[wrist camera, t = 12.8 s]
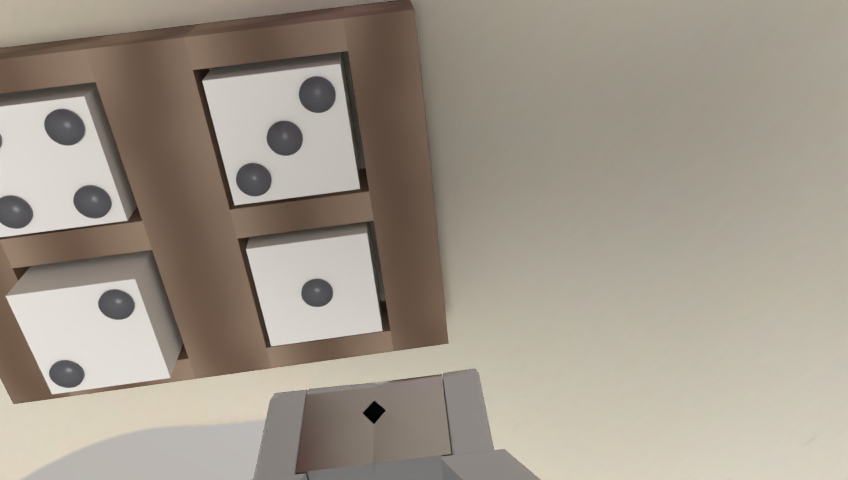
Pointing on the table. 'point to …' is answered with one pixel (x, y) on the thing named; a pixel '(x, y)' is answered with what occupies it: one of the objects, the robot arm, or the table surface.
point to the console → (210, 192)
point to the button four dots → (59, 162)
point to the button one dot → (316, 283)
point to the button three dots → (284, 127)
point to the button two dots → (97, 321)
